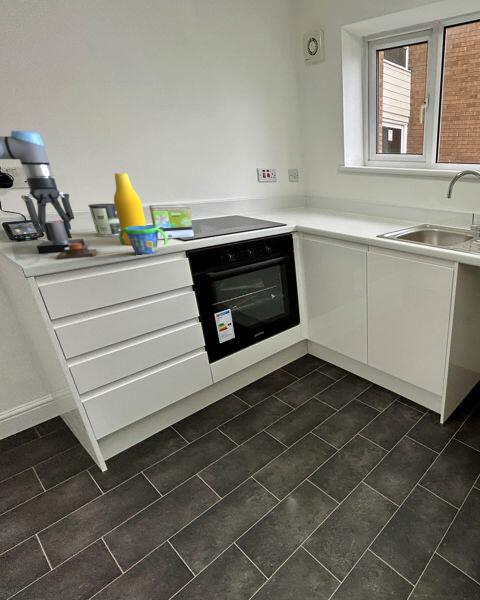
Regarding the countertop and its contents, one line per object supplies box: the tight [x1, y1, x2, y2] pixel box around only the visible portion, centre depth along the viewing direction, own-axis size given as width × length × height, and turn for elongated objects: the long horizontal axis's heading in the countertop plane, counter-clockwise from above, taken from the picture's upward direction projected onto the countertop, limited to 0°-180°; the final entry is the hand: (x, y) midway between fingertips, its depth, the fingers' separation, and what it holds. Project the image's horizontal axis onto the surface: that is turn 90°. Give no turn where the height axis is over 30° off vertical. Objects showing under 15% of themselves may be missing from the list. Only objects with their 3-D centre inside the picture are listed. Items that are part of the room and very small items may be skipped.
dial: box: [46, 219, 70, 243], centre depth 137 cm, size 5×5×8 cm
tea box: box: [148, 204, 194, 241], centre depth 166 cm, size 15×10×15 cm, turn 129°
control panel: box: [36, 238, 86, 255], centre depth 139 cm, size 12×10×3 cm
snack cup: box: [118, 224, 168, 256], centre depth 137 cm, size 16×10×10 cm
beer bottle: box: [113, 172, 147, 246], centre depth 149 cm, size 9×9×29 cm
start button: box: [69, 243, 82, 249], centre depth 131 cm, size 4×4×2 cm
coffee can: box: [88, 203, 121, 237], centre depth 166 cm, size 10×10×14 cm
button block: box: [56, 245, 98, 260], centre depth 132 cm, size 10×8×3 cm
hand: (59, 239), depth 138 cm, fingers closed on dial, 5 cm apart
